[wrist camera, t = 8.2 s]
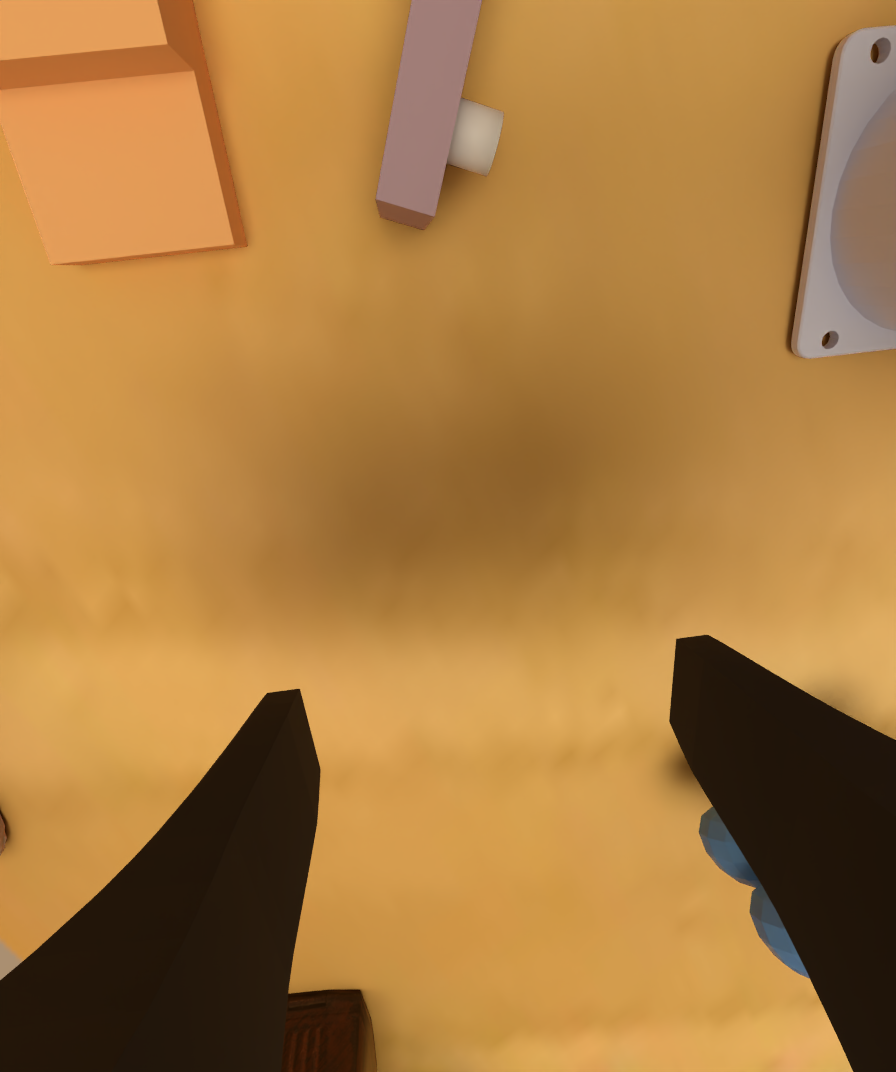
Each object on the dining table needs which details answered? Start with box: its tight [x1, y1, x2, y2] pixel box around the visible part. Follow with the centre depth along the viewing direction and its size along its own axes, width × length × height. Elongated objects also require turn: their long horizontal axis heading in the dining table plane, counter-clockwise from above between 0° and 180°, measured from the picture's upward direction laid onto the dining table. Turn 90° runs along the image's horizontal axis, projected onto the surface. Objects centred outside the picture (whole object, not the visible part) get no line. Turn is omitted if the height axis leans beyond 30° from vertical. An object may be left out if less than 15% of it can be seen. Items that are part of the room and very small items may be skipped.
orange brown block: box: [0, 0, 247, 265], centre depth 13 cm, size 4×9×4 cm, turn 6°
